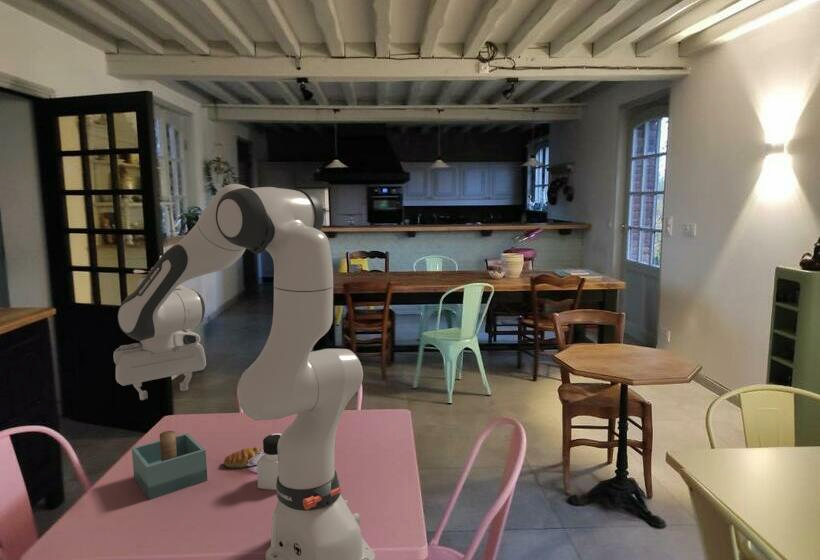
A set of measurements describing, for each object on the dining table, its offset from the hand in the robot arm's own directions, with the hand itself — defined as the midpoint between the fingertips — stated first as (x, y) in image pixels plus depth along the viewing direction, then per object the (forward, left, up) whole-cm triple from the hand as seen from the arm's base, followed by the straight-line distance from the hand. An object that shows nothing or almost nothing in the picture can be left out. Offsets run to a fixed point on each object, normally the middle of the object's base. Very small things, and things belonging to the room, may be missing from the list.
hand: (164, 394), depth 132 cm
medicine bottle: (-19, -19, -22) cm, 36 cm away
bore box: (0, 0, -22) cm, 22 cm away
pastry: (-4, -18, -23) cm, 29 cm away
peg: (0, 0, -22) cm, 22 cm away
